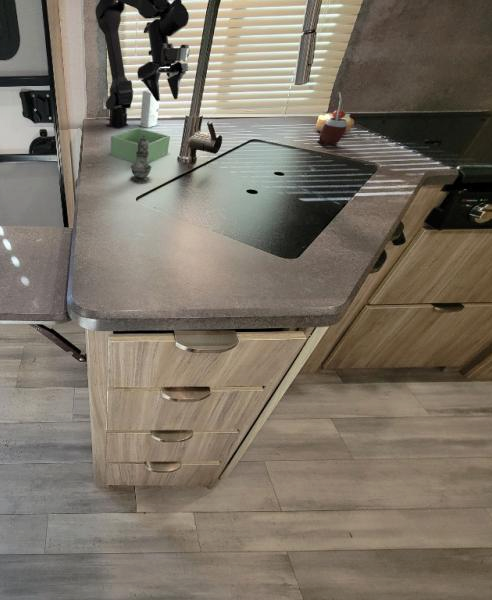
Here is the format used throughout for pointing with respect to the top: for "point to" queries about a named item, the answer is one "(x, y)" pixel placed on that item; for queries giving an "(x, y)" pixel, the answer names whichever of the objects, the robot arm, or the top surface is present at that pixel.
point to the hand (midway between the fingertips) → (167, 100)
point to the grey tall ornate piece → (141, 163)
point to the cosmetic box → (149, 110)
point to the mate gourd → (333, 129)
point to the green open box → (128, 144)
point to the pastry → (325, 117)
